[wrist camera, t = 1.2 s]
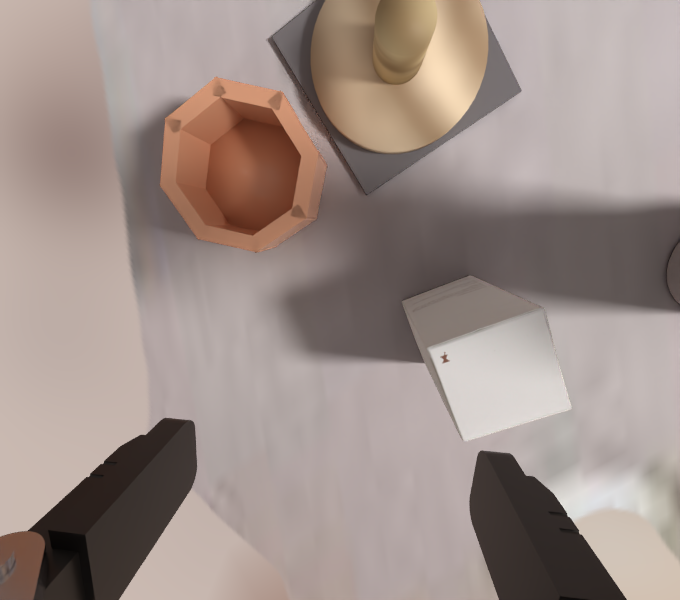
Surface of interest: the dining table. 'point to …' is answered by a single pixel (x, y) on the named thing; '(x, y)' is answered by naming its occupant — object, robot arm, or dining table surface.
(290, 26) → the mat
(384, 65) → the lid
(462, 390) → the supplement box
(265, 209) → the bowl
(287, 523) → the dining table surface
